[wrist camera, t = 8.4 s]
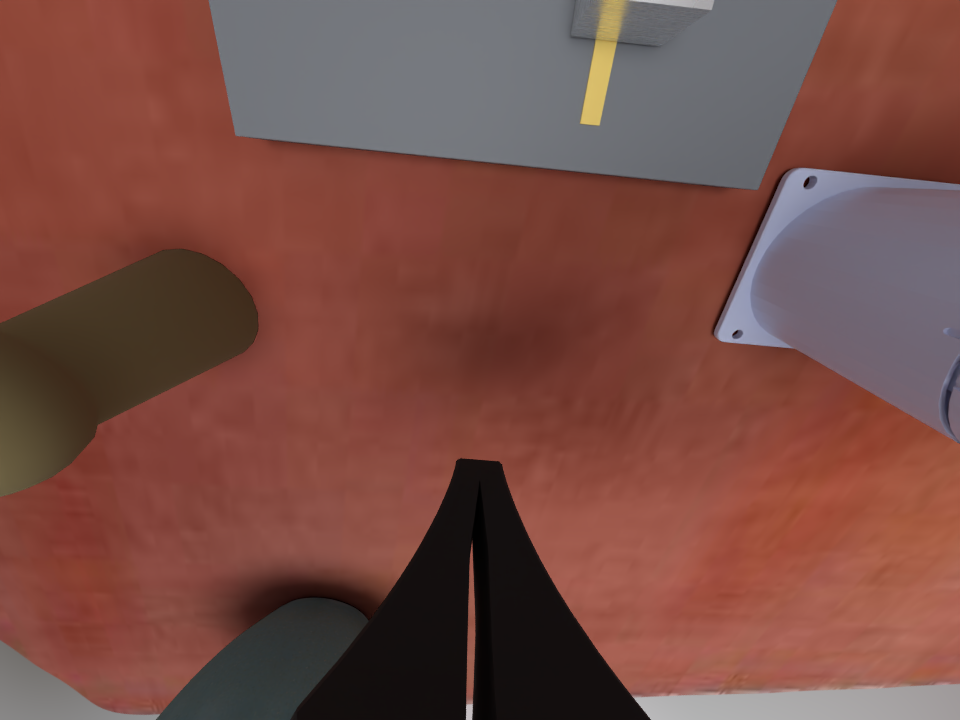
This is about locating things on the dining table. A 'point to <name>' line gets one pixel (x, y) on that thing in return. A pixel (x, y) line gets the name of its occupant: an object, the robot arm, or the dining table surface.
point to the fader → (636, 19)
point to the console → (521, 83)
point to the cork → (111, 355)
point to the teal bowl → (270, 664)
